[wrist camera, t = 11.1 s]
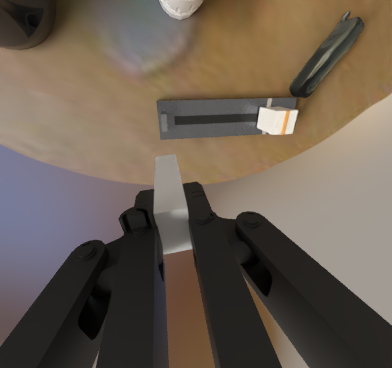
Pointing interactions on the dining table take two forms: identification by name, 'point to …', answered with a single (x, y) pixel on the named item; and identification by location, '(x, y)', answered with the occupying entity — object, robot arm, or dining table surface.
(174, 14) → the white cup
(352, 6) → the dining table surface
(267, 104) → the grey slider track
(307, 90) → the mobile phone
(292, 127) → the fader
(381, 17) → the dining table surface
